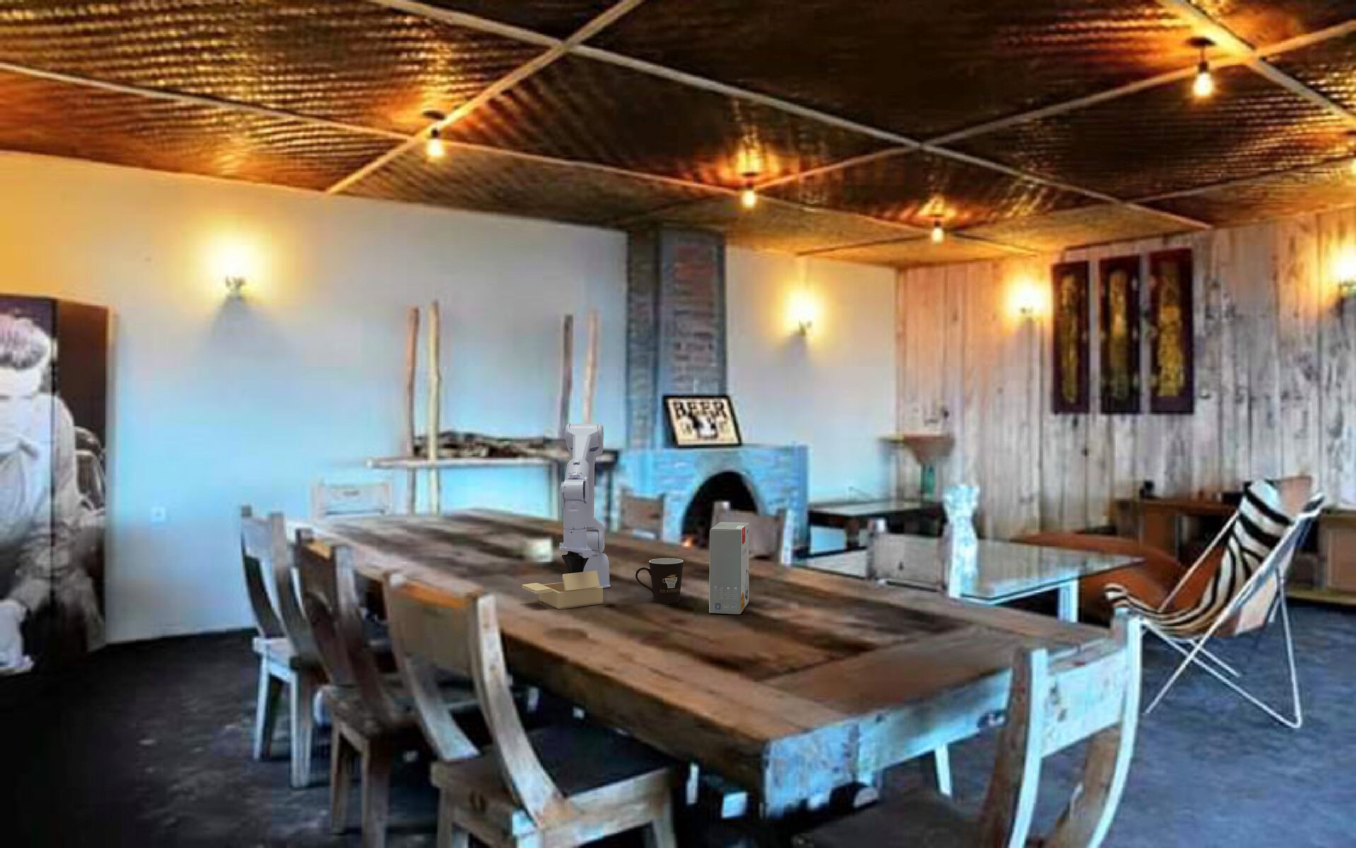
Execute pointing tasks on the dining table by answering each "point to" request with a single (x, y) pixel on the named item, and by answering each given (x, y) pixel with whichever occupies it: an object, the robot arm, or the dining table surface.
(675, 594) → the coffee mug
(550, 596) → the carton
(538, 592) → the flap far
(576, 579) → the flap left
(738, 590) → the hard drive box
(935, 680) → the dining table surface
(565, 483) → the robot arm
